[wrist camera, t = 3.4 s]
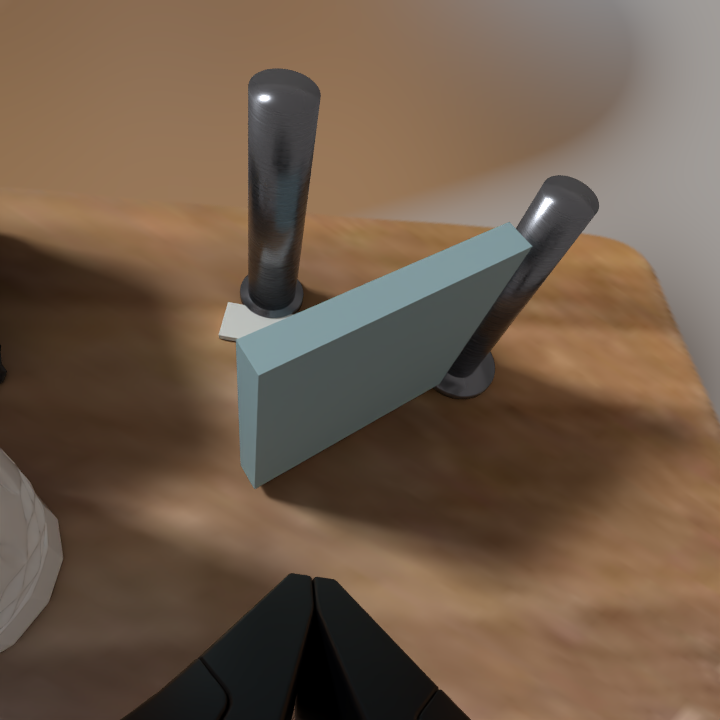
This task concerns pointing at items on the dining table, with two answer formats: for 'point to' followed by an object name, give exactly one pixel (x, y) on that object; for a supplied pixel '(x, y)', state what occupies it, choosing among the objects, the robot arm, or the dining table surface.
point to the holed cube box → (2, 370)
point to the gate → (364, 351)
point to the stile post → (278, 187)
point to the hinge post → (523, 277)
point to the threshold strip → (243, 322)
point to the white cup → (24, 553)
